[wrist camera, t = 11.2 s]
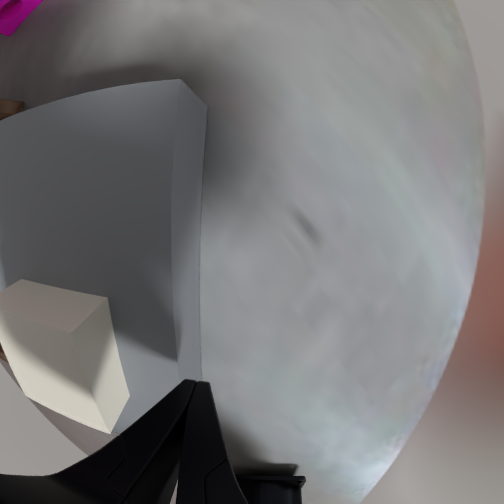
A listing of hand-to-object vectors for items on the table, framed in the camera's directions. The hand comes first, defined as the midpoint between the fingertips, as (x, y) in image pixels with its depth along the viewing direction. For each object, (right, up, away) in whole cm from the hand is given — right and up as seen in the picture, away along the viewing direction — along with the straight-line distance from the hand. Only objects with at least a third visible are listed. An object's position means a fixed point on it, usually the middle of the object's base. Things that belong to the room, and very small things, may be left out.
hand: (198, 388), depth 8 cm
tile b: (-6, +1, +1) cm, 6 cm away
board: (-7, +4, +4) cm, 9 cm away
